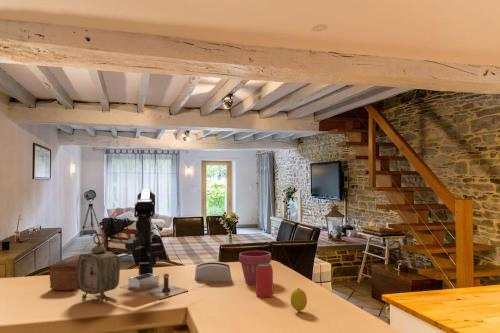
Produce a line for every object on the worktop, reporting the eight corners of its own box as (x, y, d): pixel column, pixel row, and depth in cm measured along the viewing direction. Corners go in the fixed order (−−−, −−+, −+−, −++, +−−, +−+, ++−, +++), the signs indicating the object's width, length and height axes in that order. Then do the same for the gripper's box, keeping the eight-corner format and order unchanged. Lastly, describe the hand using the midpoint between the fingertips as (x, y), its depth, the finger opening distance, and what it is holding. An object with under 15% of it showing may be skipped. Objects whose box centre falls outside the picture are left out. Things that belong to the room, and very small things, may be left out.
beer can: (274, 294, 148) (274, 263, 148) (270, 298, 141) (270, 266, 142) (259, 292, 150) (258, 262, 150) (253, 297, 143) (253, 265, 144)
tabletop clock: (77, 299, 142) (78, 233, 144) (98, 294, 150) (99, 231, 151) (99, 306, 134) (100, 236, 135) (121, 299, 142) (121, 233, 143)
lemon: (289, 309, 129) (289, 286, 129) (305, 309, 129) (304, 285, 130) (292, 315, 123) (292, 290, 124) (308, 314, 124) (308, 289, 124)
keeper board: (119, 289, 156) (119, 269, 156) (146, 282, 167) (146, 264, 168) (160, 300, 141) (160, 278, 141) (187, 291, 152) (187, 271, 152)
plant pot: (234, 284, 163) (234, 254, 163) (246, 277, 176) (246, 249, 176) (265, 287, 157) (264, 256, 158) (275, 279, 170) (275, 251, 171)
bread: (43, 292, 153) (44, 262, 154) (81, 275, 181) (81, 250, 182) (75, 293, 152) (75, 262, 152) (108, 276, 180) (108, 250, 180)
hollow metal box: (128, 287, 156) (128, 277, 156) (147, 282, 164) (148, 273, 164) (139, 289, 151) (139, 279, 152) (158, 284, 160) (158, 275, 160)
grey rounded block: (231, 278, 173) (231, 259, 170) (231, 284, 168) (230, 265, 165) (195, 278, 173) (194, 259, 170) (194, 285, 168) (193, 265, 165)
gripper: (114, 230, 158) (114, 267, 157) (142, 233, 147) (142, 273, 146) (136, 227, 167) (136, 263, 166) (164, 230, 156) (164, 268, 155)
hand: (143, 266), depth 158 cm, fingers open, 9 cm apart
